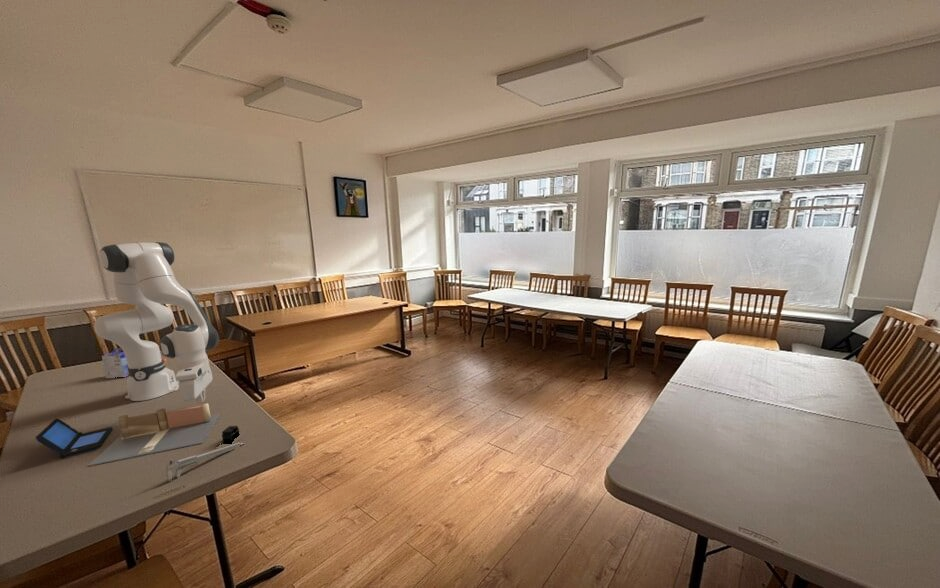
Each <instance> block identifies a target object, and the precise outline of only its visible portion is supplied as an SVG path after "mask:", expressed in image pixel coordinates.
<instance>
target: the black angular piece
mask: <svg viewBox="0 0 940 588" xmlns="http://www.w3.org/2000/svg"><path fill="white" fill-rule="evenodd" d="M239 432H240V429H239V427H238V425H229V426H228V427H226V428H225V429H224V430H223V431H221V433H222V434H221V437H222V441H223V442H222V441H221V442H222V443H221V442H220V443H221V445H222V444H232V442H233V441H234V439H235V438H237V437H238V436H239V435H240V434H239ZM218 444H219V443H218ZM218 444H217V445H218ZM219 445H220V444H219ZM219 445H218V446H219Z"/></svg>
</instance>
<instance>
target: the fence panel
mask: <svg viewBox="0 0 940 588" xmlns="http://www.w3.org/2000/svg"><path fill="white" fill-rule="evenodd" d="M166 415H167V420H168V425H169V428H174V427H179V426H185V425H190V424H195V423H201V422H207V421H210V420H211V411H210V405H209V403H208V402H207V403H204V404H202V405H197V406H192V407H186V408H181V409H180V408H179V409H173V410H169V411H166Z"/></svg>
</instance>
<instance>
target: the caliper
mask: <svg viewBox="0 0 940 588" xmlns="http://www.w3.org/2000/svg"><path fill="white" fill-rule="evenodd" d="M242 444H244V445H245V443H244V442H239V441H237V442H236V443H235V444H232V445H229V446H226V447H223V448H216V449H214V450H210V451H209V452H206V453H205V452H204V453H202V454H199V455H191V456H188V457H185V458H182V459H177V458H176V457H174V459H173V460H172V459H169V463H168V464H166V468H165V469H166V470H165V474H166V477H167V481H168V482H172V481H173V473H174V470H175V478H176V479H179V478H180V477H181V475H182V472H183V469H184V468H191V467H193V466H197V464H198V462H201V461H204V460H207V459H210V458H213V457H216V456H219V455H222V454H224V453H227V452H230V451H234V450H236V449H235V448H236V447H238V446H240V445H241V446H243V445H242ZM241 446H240V447H241ZM238 448H239V447H238ZM233 449H234V450H233Z"/></svg>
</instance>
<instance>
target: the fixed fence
mask: <svg viewBox="0 0 940 588" xmlns="http://www.w3.org/2000/svg"><path fill="white" fill-rule="evenodd" d="M166 412H167V411H166V408H161V409H160V408H159V409H158V410H156V412H152V413H146V414H140V415H134V416H130V417H129V415H128V414H125V415H120V416H119V417H117V419H118V423H119V427H120V431H121V435H122V436H123V438H127V437H130V436H134V435H139V434H144V433H150V432H155V431H160V430H161V431H164V430H167V429H169V425H168V420H167V415H166Z"/></svg>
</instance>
